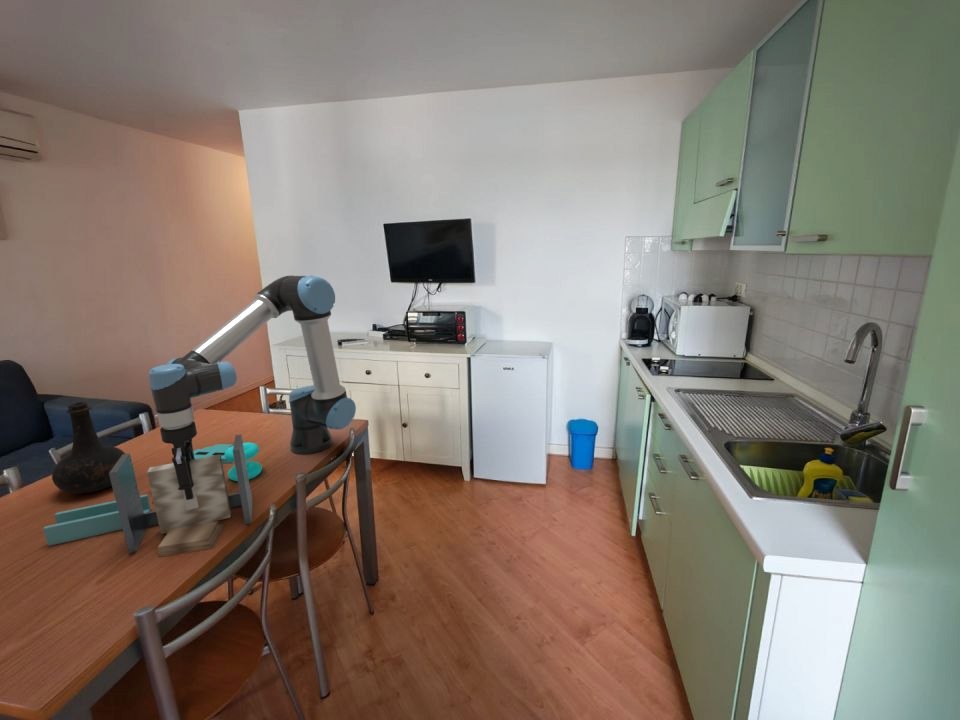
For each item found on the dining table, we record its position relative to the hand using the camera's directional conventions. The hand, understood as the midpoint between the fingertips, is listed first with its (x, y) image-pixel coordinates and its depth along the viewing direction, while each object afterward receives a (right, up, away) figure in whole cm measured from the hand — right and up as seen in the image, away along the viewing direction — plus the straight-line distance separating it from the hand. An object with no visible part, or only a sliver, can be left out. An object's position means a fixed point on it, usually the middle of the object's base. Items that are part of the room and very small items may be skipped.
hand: (193, 504), depth 117 cm
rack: (+1, -6, 0) cm, 6 cm away
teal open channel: (-25, -6, 0) cm, 26 cm away
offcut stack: (+4, -8, -6) cm, 11 cm away
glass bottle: (-45, -2, +21) cm, 50 cm away
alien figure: (-20, +2, +37) cm, 42 cm away
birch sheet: (0, -5, +1) cm, 6 cm away
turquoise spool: (0, +1, +27) cm, 27 cm away
